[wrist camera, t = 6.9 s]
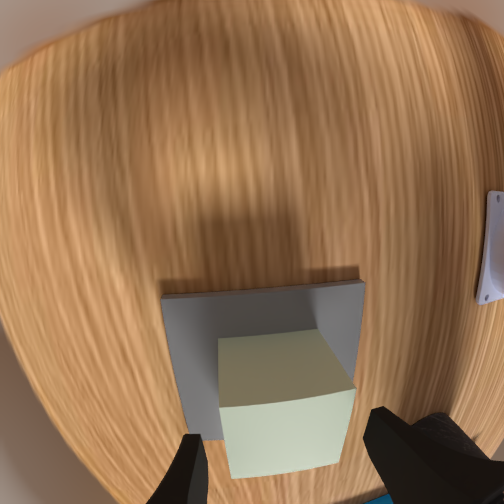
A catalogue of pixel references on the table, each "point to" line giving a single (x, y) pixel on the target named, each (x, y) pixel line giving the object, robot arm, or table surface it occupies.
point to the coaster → (252, 334)
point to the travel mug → (448, 434)
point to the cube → (282, 402)
